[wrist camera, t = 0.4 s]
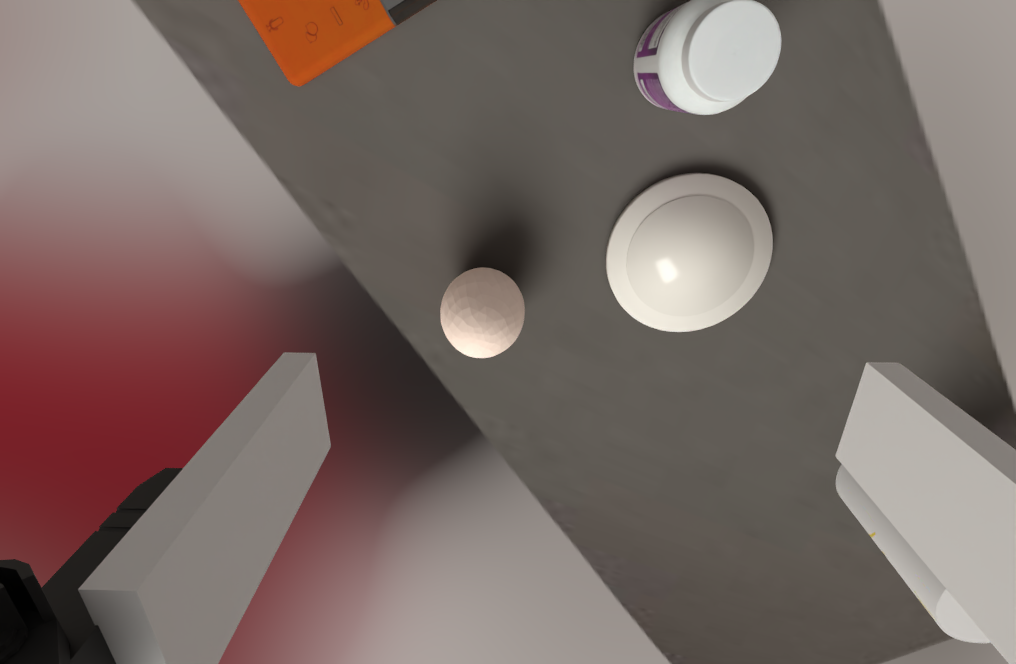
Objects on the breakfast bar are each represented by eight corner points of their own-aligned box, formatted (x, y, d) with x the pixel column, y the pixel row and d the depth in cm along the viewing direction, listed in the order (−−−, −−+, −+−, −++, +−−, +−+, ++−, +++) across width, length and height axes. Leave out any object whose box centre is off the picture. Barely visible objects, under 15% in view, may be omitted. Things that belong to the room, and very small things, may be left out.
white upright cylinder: (820, 503, 46) (912, 634, 35) (861, 426, 43) (977, 545, 32) (910, 516, 46) (1028, 650, 36) (958, 441, 43) (1105, 563, 32)
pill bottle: (725, 97, 33) (800, 103, 24) (638, 118, 33) (680, 132, 25) (719, -4, 30) (799, -37, 22) (626, 21, 31) (666, -1, 22)
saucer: (610, 173, 35) (613, 176, 34) (782, 171, 34) (789, 174, 34) (600, 327, 39) (602, 333, 39) (752, 326, 39) (757, 332, 38)
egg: (511, 244, 37) (509, 284, 30) (533, 315, 39) (536, 367, 32) (437, 266, 38) (417, 310, 31) (462, 334, 40) (449, 389, 33)
